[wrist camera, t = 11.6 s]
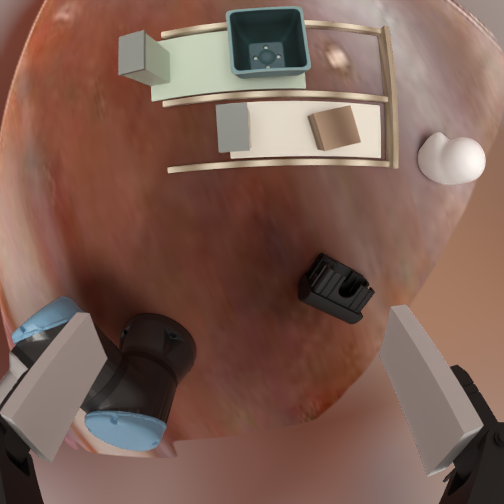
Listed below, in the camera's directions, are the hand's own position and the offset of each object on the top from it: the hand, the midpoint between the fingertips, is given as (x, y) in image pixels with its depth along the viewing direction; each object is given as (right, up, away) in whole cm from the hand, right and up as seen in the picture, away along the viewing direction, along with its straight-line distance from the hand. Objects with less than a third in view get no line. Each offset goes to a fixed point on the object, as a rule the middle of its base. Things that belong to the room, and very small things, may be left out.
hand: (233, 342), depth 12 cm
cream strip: (+9, +21, +26) cm, 35 cm away
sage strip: (-3, +31, +23) cm, 38 cm away
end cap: (+14, -1, +36) cm, 38 cm away
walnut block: (+12, +21, +26) cm, 35 cm away
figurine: (+30, +19, +27) cm, 44 cm away
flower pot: (+3, +31, +22) cm, 38 cm away
